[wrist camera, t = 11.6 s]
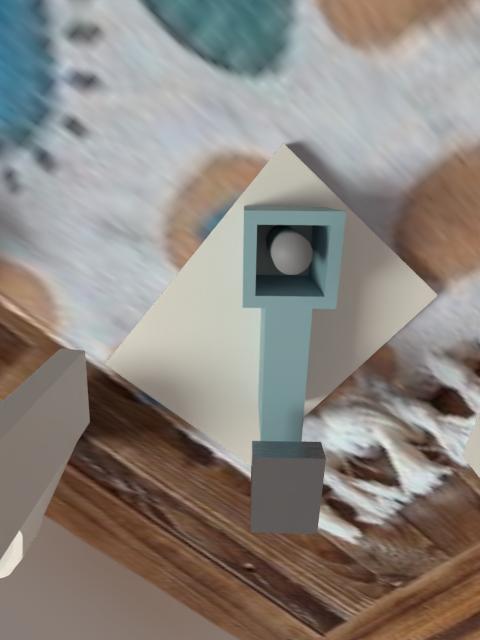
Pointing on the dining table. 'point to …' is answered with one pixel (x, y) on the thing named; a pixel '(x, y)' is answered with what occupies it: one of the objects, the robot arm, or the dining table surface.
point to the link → (289, 312)
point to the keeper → (286, 486)
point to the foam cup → (29, 527)
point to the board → (244, 323)
